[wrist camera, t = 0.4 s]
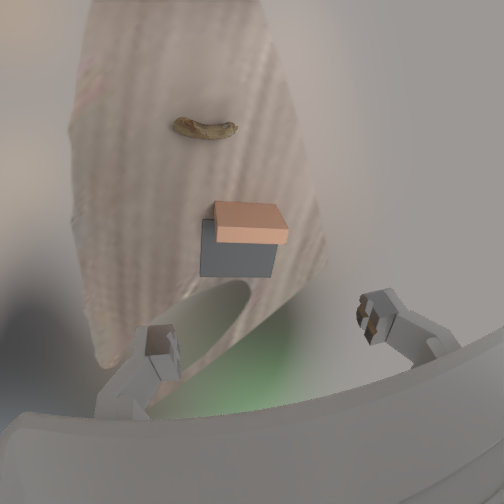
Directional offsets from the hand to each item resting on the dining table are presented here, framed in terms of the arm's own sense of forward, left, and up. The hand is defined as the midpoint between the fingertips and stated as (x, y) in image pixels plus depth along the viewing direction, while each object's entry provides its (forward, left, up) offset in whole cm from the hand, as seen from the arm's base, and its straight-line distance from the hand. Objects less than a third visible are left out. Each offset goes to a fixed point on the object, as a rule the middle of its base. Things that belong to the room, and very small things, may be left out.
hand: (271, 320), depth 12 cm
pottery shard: (0, -2, -44) cm, 44 cm away
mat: (+25, +7, -44) cm, 51 cm away
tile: (+16, +7, -44) cm, 47 cm away
